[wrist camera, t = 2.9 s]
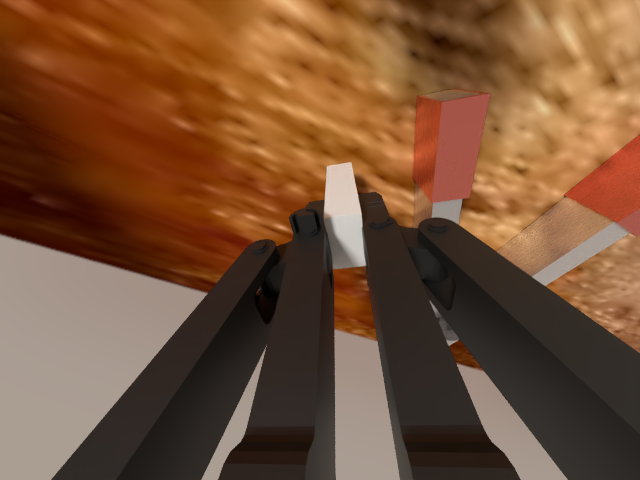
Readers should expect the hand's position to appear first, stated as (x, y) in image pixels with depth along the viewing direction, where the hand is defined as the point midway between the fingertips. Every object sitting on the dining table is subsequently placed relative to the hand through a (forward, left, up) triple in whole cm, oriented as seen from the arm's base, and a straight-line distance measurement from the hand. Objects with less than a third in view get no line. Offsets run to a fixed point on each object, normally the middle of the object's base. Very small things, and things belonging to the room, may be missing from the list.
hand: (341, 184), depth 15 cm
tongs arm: (+7, +1, -2) cm, 7 cm away
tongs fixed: (+14, +2, -2) cm, 14 cm away
